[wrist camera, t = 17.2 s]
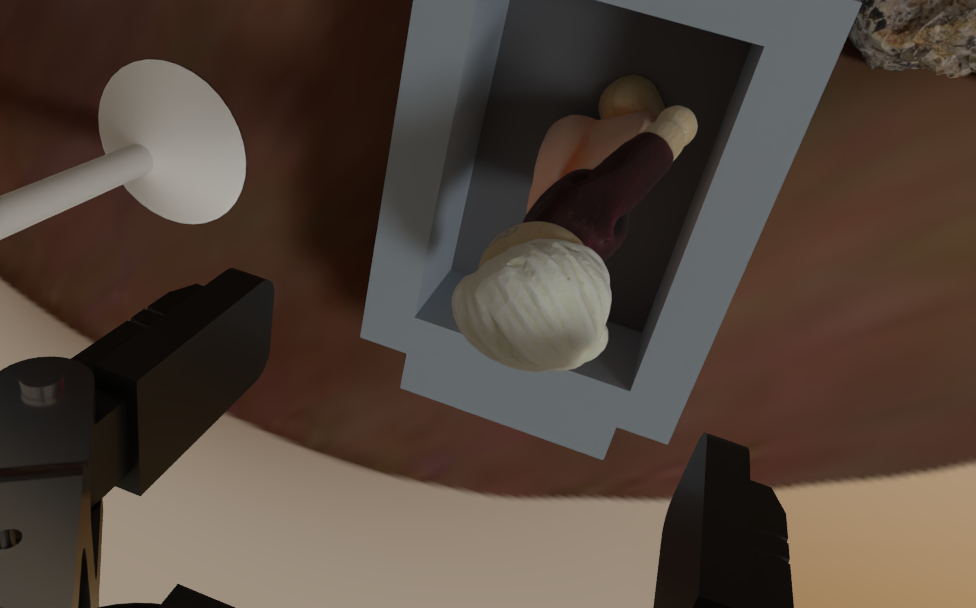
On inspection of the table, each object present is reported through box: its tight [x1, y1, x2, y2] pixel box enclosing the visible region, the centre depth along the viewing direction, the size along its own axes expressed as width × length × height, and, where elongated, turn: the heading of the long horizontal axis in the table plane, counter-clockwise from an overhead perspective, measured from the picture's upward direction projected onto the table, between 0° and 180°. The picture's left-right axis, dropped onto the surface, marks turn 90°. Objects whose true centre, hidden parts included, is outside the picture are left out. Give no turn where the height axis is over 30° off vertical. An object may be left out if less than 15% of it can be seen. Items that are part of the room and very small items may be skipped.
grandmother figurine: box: [451, 75, 698, 372], centre depth 20 cm, size 8×4×13 cm, turn 153°
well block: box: [360, 0, 862, 460], centre depth 24 cm, size 11×17×4 cm, turn 168°
